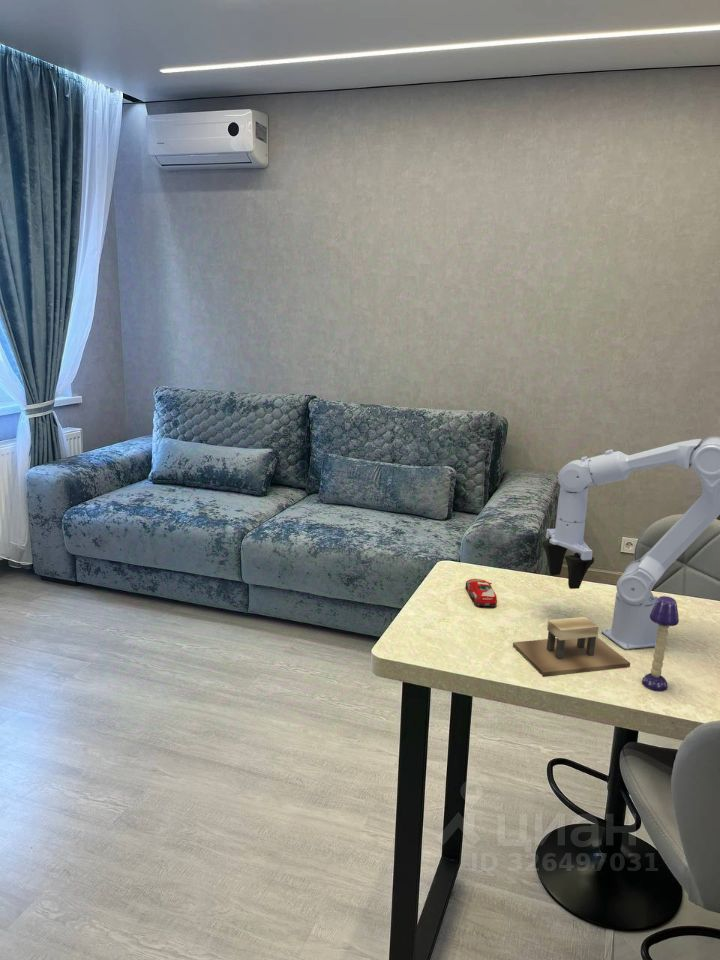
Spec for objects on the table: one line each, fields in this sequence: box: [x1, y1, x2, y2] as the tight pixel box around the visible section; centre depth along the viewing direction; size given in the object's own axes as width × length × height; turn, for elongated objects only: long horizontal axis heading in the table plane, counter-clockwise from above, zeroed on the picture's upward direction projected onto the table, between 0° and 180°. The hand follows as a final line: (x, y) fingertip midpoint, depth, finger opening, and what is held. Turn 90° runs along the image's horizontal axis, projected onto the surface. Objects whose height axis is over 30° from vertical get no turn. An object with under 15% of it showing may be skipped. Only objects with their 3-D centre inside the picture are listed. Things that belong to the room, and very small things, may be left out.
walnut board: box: [512, 636, 631, 677], centre depth 135 cm, size 18×12×1 cm, turn 105°
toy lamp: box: [641, 595, 680, 692], centre depth 124 cm, size 5×5×17 cm
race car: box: [465, 578, 498, 607], centre depth 162 cm, size 13×5×4 cm, turn 2°
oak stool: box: [547, 616, 599, 659], centre depth 135 cm, size 4×8×6 cm, turn 105°
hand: (564, 581), depth 148 cm, fingers open, 7 cm apart
